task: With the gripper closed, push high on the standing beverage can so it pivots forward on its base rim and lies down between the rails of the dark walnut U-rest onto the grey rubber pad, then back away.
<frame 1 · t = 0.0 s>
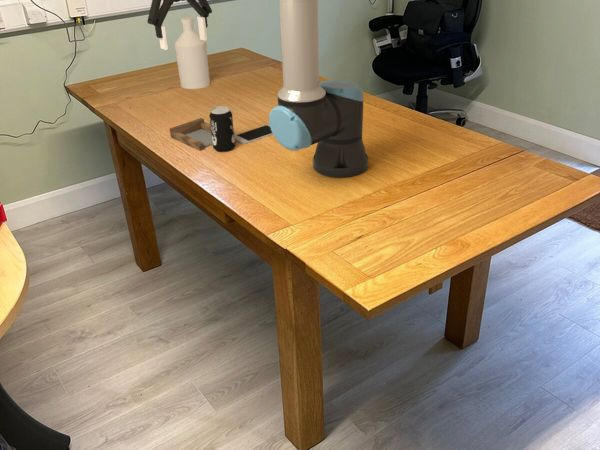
hand: (184, 44, 170), 28 cm above the table, fingers open, 13 cm apart
walnut U-rest: (202, 138, 181), on the table
bottle: (195, 85, 230), on the table
smartphone: (257, 136, 183), on the table
grey rubber pad: (202, 138, 181), resting in walnut U-rest
beverage can: (224, 149, 175), on the table
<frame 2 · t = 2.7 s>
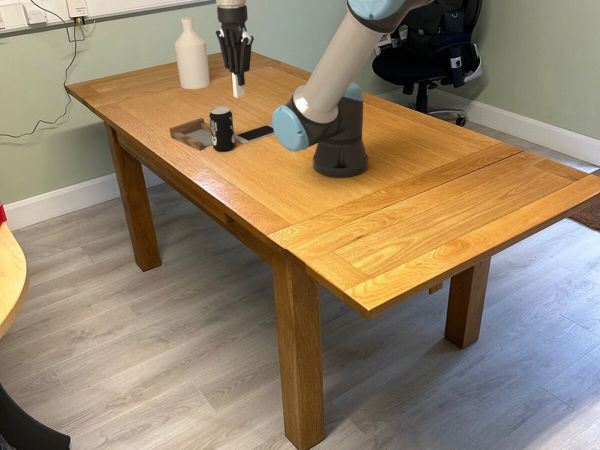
hand: (239, 96, 159), 18 cm above the table, fingers closed
nothing on the table moved.
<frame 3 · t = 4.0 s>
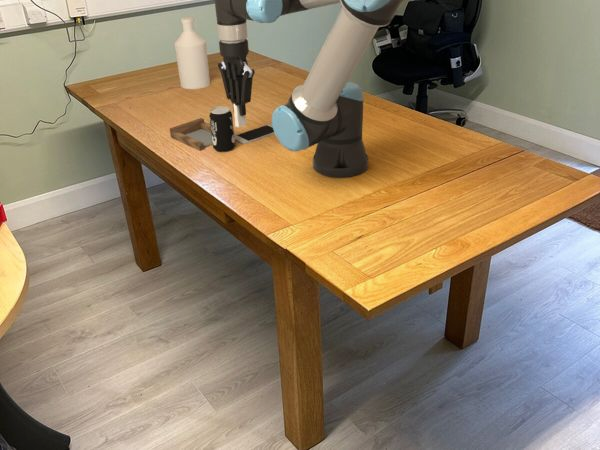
hand: (240, 125, 164), 10 cm above the table, fingers closed
nothing on the table moved.
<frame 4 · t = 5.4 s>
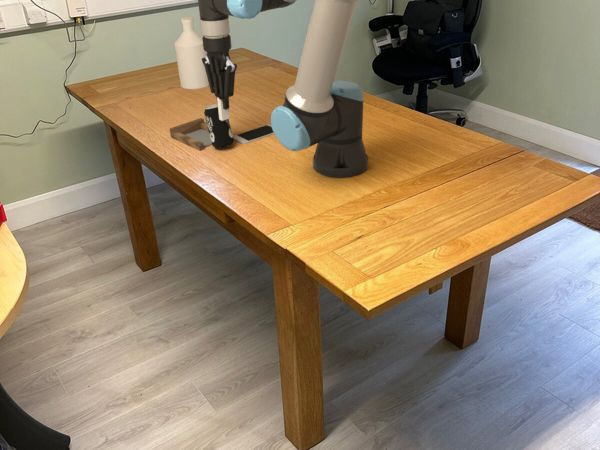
hand: (224, 118, 168), 10 cm above the table, fingers closed
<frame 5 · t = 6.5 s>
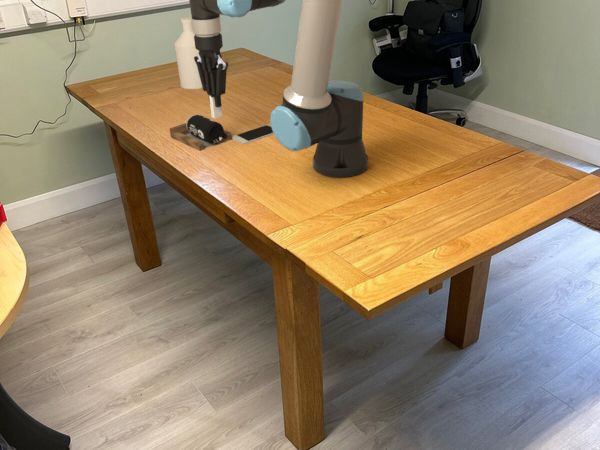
hand: (216, 116, 171), 9 cm above the table, fingers closed
beverage can: (216, 134, 174), point 4 cm above the table, touching grey rubber pad
everything else where it was.
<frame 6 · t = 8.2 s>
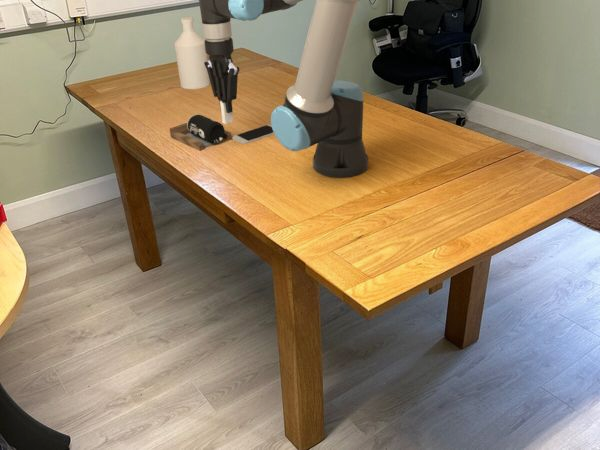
hand: (227, 122, 168), 9 cm above the table, fingers closed
nothing on the table moved.
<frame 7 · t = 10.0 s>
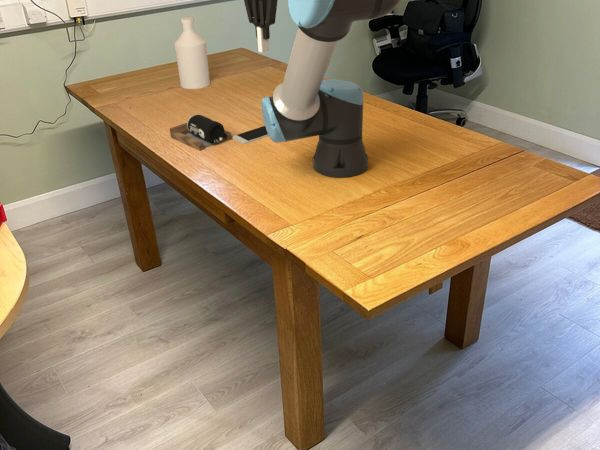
hand: (263, 51, 160), 28 cm above the table, fingers closed
nothing on the table moved.
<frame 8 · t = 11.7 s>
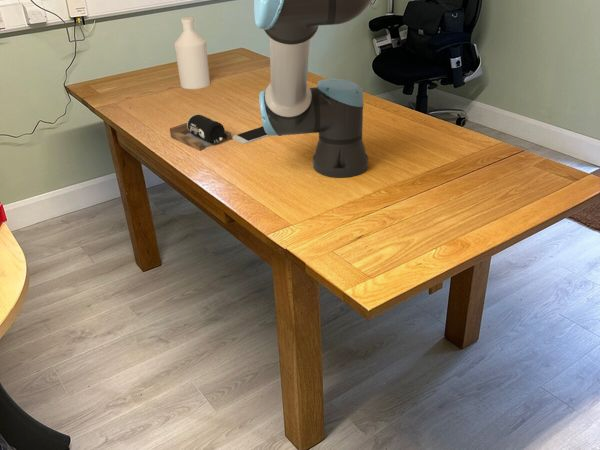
hand: (281, 42, 162), 29 cm above the table, fingers closed
nothing on the table moved.
at the end: beverage can tilted 90°; beverage can inside the target area (6.4 cm from its centre), point 3.6 cm above the table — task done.
